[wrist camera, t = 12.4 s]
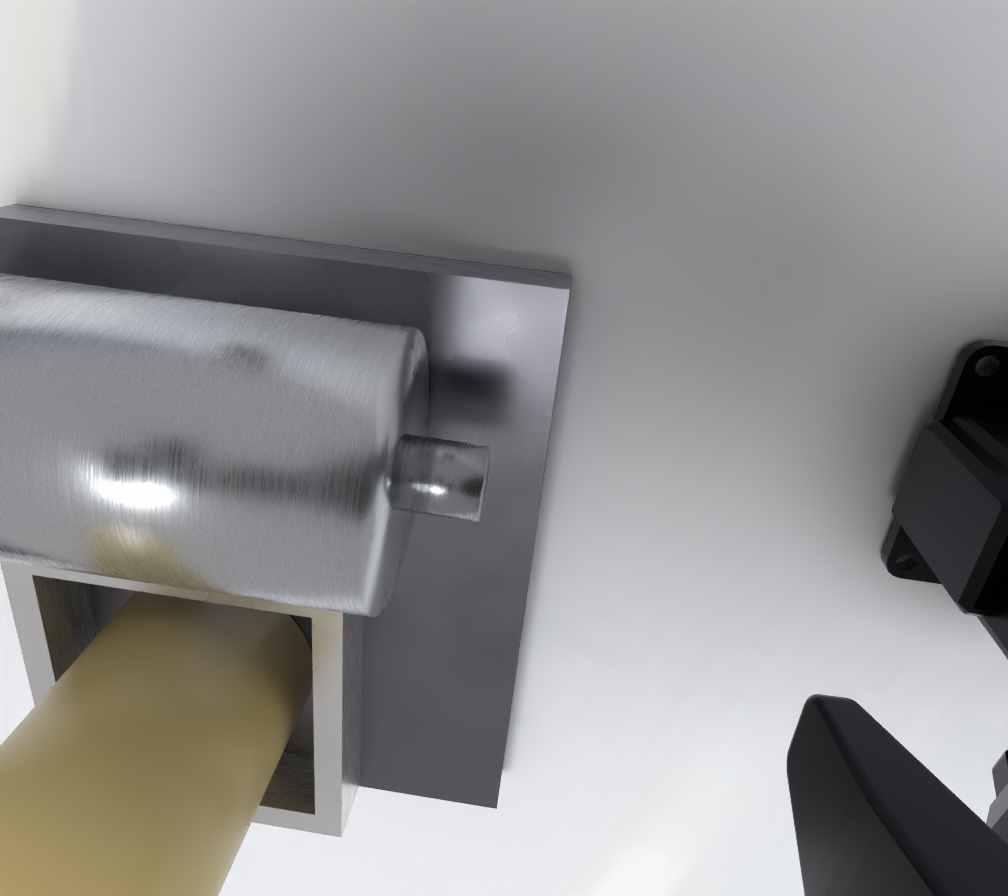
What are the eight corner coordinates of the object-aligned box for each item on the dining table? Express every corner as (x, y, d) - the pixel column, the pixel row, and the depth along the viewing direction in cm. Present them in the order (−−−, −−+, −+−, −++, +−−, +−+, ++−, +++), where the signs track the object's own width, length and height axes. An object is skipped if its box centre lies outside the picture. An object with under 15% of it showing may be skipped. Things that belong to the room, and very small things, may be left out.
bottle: (343, 629, 21) (2, 1399, 9) (277, 753, 24) (-55, 1477, 12) (146, 539, 21) (-520, 1243, 8) (101, 677, 23) (-454, 1364, 11)
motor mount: (571, 274, 18) (558, 387, 11) (501, 770, 25) (468, 1015, 19) (14, 204, 19) (-311, 270, 12) (106, 706, 26) (-62, 920, 20)
